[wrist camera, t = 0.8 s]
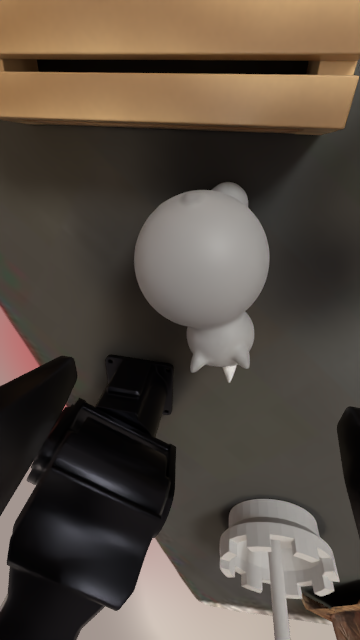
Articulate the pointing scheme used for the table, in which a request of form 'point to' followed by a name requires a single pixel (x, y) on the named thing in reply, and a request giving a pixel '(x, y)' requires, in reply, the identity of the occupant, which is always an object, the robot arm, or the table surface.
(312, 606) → the bird sculpture
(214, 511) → the table surface
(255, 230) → the round bodied animal figurine
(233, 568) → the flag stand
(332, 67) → the wooden pallet
